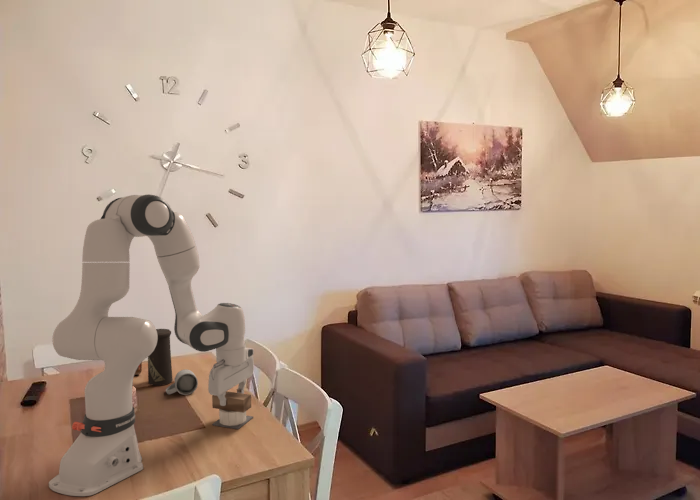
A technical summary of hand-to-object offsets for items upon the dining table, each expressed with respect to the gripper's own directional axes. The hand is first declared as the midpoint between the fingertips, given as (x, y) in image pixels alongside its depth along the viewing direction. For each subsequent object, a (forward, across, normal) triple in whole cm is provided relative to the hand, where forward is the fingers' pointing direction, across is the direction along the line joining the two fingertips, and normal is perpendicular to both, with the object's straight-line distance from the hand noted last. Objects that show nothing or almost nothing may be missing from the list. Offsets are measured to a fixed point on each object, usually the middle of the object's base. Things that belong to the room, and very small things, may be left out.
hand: (232, 399), depth 169 cm
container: (+7, +22, +45) cm, 51 cm away
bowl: (+7, 0, 0) cm, 7 cm away
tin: (+7, +28, +63) cm, 69 cm away
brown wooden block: (+3, 0, 0) cm, 3 cm away
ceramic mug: (+7, +16, +31) cm, 36 cm away
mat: (+7, 0, 0) cm, 7 cm away
